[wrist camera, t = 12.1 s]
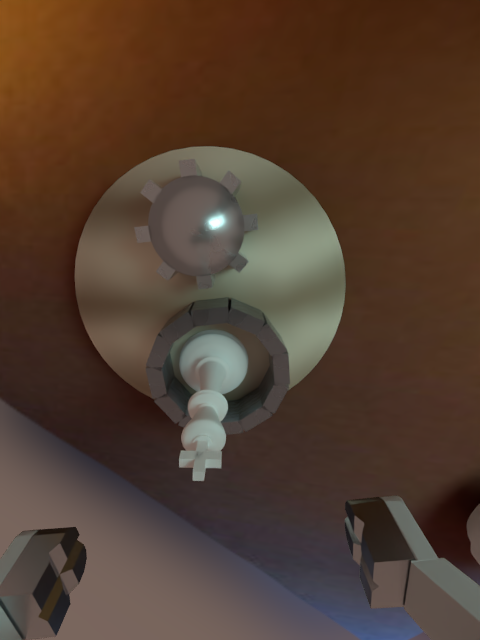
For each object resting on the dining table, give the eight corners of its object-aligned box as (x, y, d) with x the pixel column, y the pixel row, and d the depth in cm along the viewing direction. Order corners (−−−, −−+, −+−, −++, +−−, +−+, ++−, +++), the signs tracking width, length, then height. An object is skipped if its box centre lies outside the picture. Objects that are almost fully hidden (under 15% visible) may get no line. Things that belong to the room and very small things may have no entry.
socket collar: (145, 305, 19) (133, 316, 16) (278, 291, 19) (285, 300, 16) (169, 417, 22) (162, 441, 19) (285, 405, 22) (292, 427, 19)
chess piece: (246, 392, 21) (258, 524, 11) (180, 390, 21) (136, 523, 11) (250, 330, 20) (268, 423, 10) (179, 327, 19) (128, 419, 10)
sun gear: (140, 178, 16) (121, 167, 14) (248, 166, 16) (252, 152, 14) (161, 284, 18) (148, 294, 16) (257, 274, 18) (262, 282, 16)
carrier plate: (57, 171, 18) (36, 164, 16) (335, 140, 18) (347, 129, 16) (122, 408, 24) (112, 424, 22) (335, 386, 23) (344, 399, 21)
